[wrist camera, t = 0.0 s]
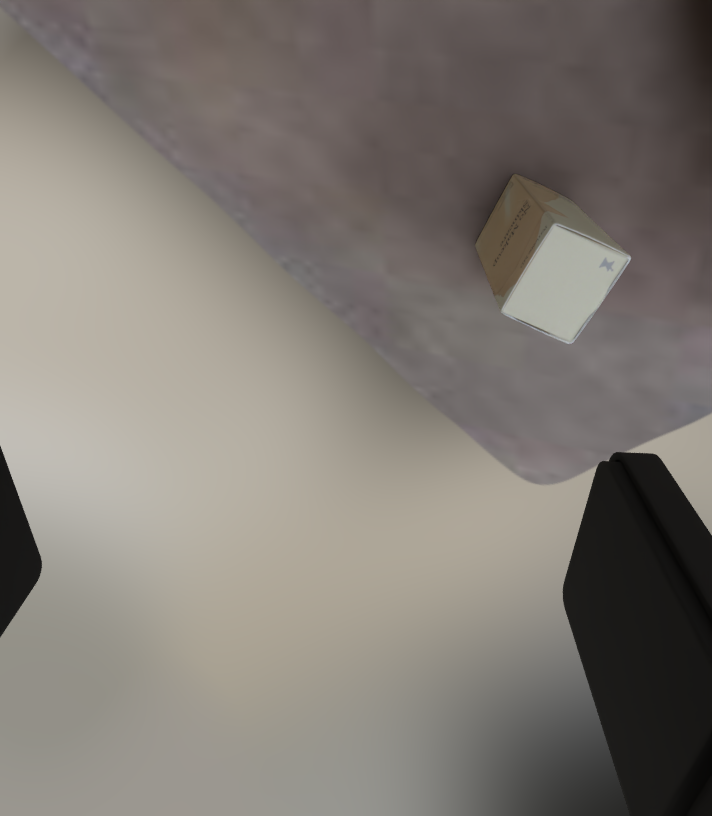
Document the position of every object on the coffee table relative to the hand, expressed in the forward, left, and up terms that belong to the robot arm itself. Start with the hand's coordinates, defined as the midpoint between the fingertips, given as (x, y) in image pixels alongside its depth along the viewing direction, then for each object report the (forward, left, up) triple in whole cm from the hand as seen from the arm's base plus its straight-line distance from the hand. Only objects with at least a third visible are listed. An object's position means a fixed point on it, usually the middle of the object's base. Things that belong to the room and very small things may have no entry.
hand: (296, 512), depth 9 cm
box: (+3, +10, -31) cm, 33 cm away
